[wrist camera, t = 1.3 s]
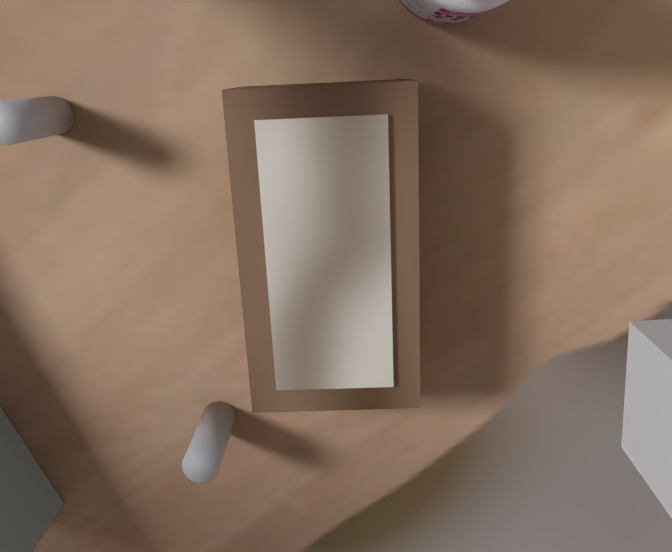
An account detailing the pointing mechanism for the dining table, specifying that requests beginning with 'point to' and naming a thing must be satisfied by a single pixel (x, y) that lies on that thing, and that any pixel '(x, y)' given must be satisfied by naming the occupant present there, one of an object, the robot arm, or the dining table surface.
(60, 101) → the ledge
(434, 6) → the pill bottle
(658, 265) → the dining table surface
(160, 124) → the dining table surface
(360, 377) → the frame
